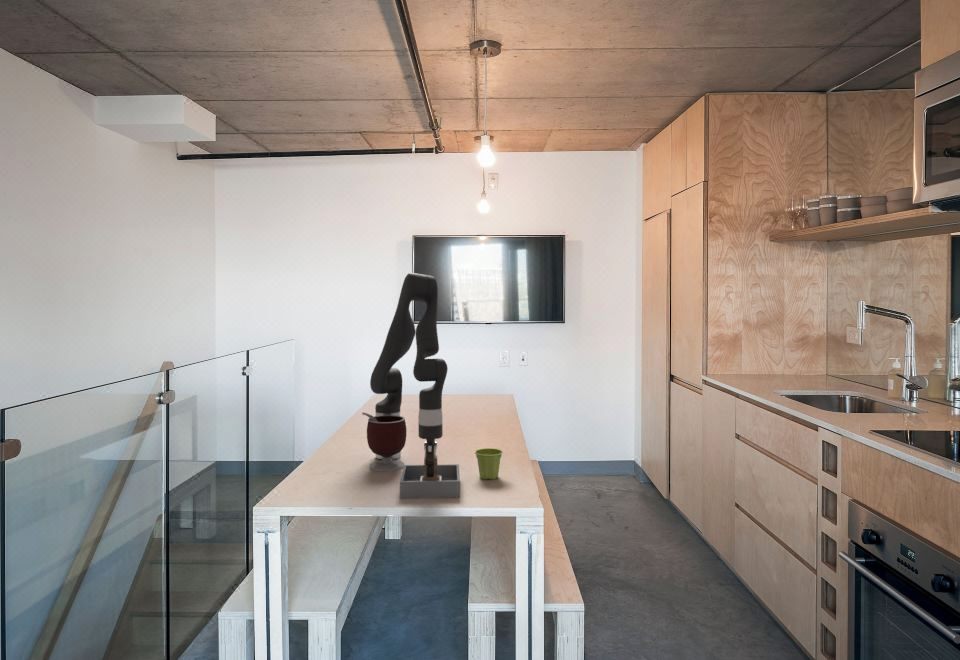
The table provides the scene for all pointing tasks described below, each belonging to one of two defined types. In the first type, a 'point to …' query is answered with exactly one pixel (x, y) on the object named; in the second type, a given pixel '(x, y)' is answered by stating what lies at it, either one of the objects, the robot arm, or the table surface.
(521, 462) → the table surface
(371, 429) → the mate gourd
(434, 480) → the brown block
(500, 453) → the plant pot
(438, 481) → the grey square tray
